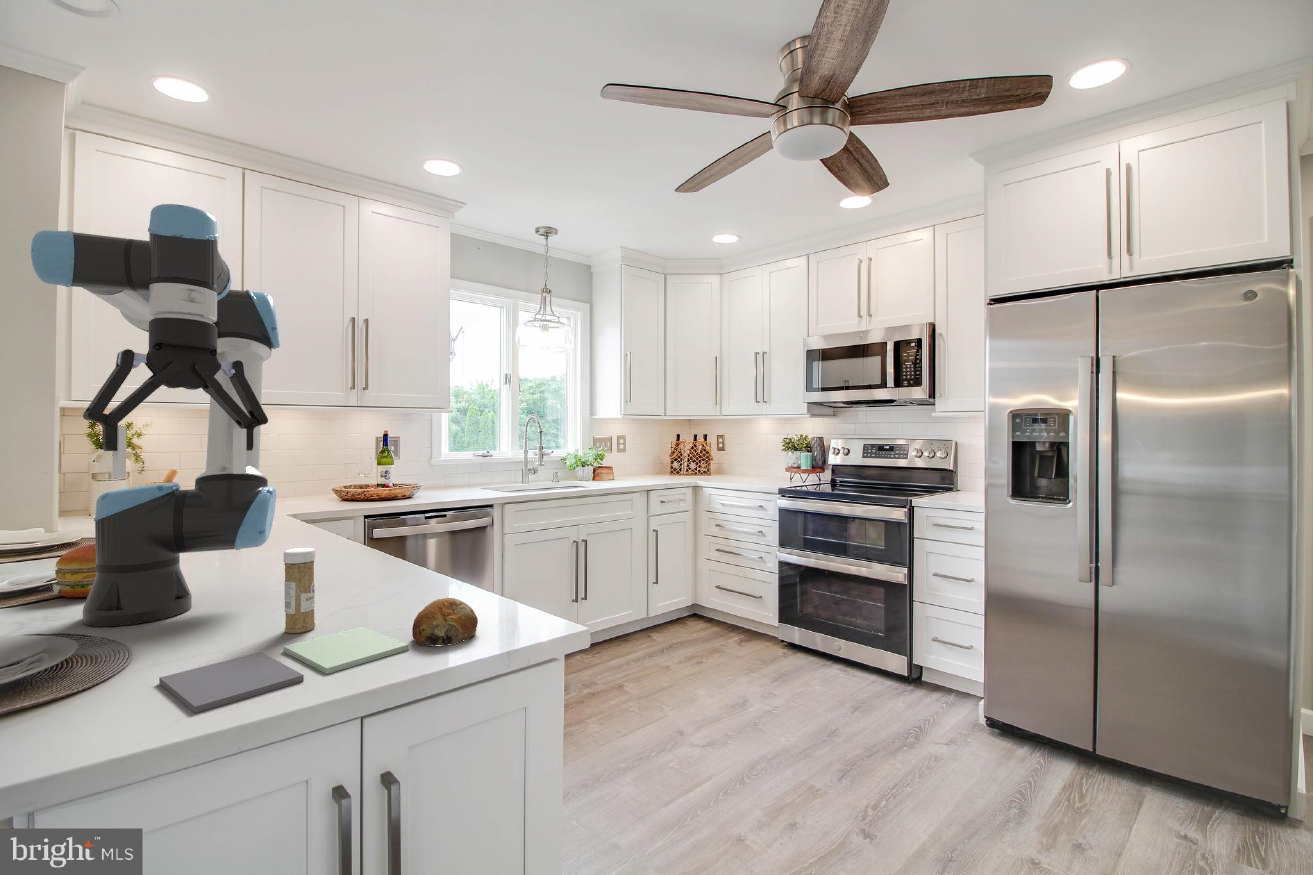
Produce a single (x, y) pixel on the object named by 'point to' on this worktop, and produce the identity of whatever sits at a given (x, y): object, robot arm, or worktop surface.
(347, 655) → the pad
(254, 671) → the pad
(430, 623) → the bread roll
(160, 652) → the worktop surface
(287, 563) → the spice jar
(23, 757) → the worktop surface
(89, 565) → the burger
